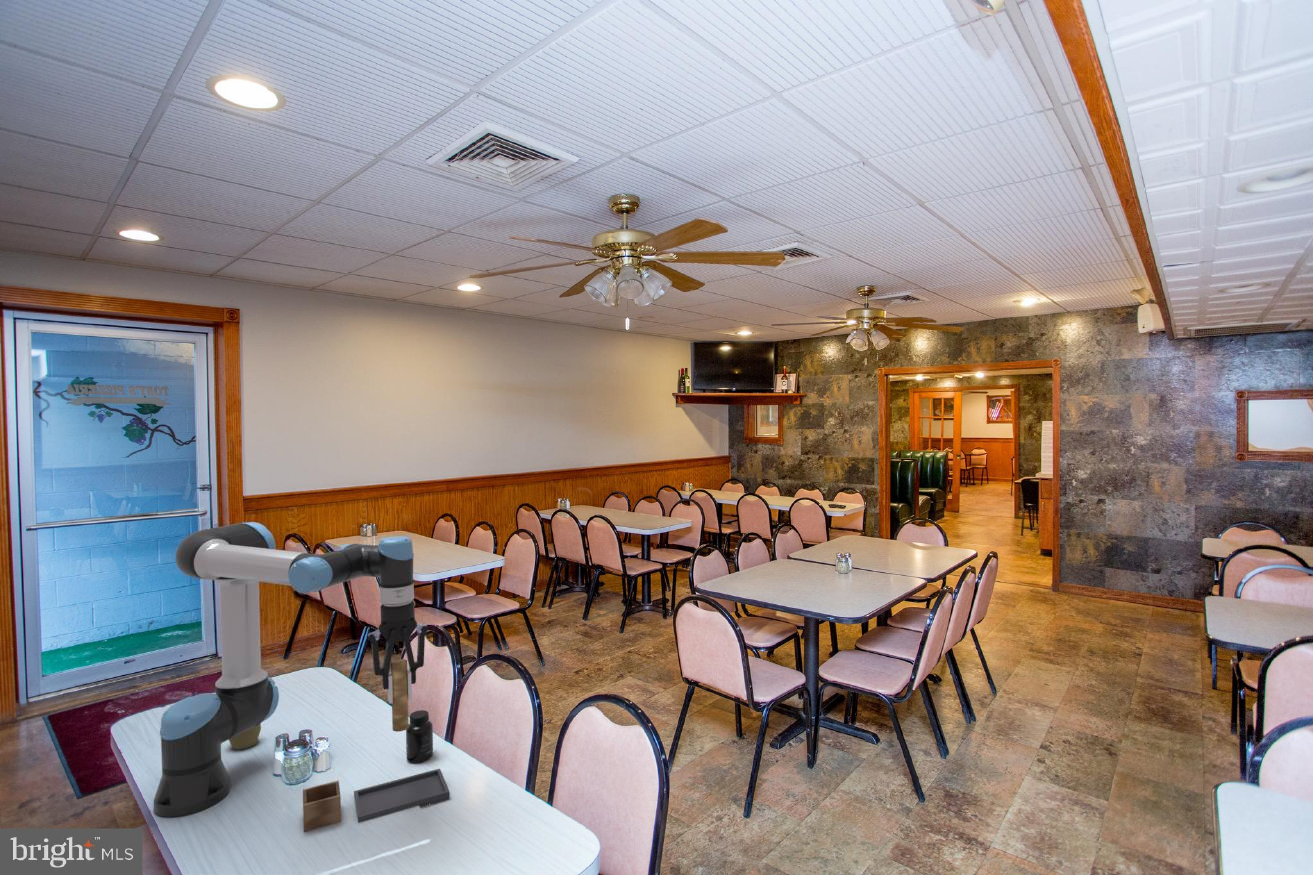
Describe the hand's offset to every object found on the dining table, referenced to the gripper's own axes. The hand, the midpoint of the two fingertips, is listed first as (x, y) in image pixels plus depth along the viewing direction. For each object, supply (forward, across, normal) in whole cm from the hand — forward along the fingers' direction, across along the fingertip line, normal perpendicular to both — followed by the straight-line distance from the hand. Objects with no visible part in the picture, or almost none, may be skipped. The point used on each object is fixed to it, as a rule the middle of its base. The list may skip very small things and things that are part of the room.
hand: (399, 699), depth 154 cm
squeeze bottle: (+24, -35, +51) cm, 67 cm away
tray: (+24, 0, 0) cm, 24 cm away
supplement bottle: (+24, +7, +18) cm, 31 cm away
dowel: (+7, 0, 0) cm, 7 cm away
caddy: (+24, -17, 0) cm, 30 cm away
